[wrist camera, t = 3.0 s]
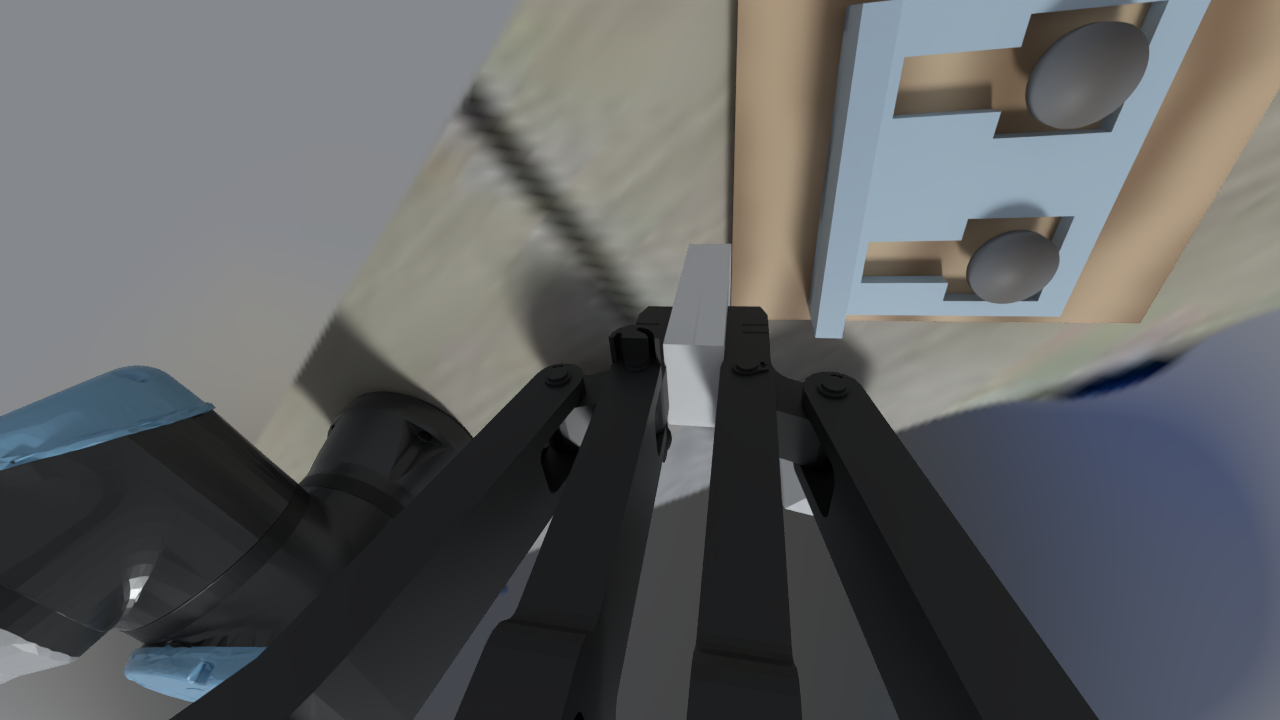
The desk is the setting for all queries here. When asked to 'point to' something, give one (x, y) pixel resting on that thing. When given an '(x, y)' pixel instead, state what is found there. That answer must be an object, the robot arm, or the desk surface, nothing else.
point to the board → (1029, 102)
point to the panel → (966, 157)
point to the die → (792, 489)
